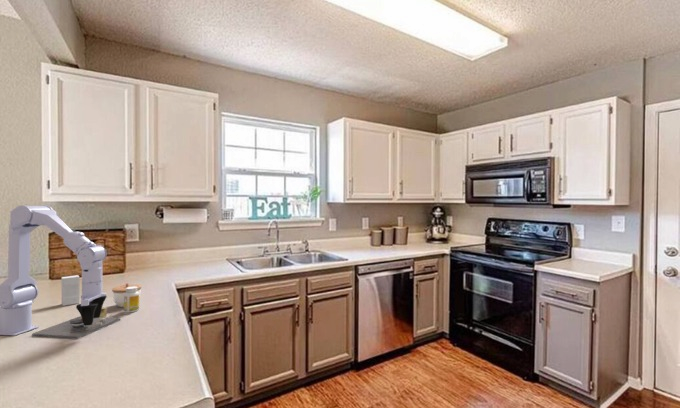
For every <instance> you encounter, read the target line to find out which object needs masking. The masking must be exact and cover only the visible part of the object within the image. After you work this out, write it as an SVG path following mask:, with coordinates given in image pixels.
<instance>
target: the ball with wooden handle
mask: <svg viewBox="0 0 680 408" xmlns="http://www.w3.org/2000/svg"><path fill="white" fill-rule="evenodd" d="M107 308H108V307H106V306H105V307H102V310H101V314H100V317H99V318H101V317H107V314H108V313H107ZM77 317H78V318H77ZM77 317H74V318H72V319H69V320H70V324H79V323H83V320H82V317H80V316H77Z"/></svg>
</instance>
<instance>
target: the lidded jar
mask: <svg viewBox="0 0 680 408" xmlns="http://www.w3.org/2000/svg"><path fill="white" fill-rule="evenodd" d="M134 286H135V287H137V292H139V299H140V298H141V295H142V294H141V293H142V285H141V284H129V283H125V285H119V286H115V287H113V288H112V289H111V291H112V299H113V301H114V303H115V304H116V305H117V306H118V307H120V308H124V294H125V293H127V292H126V288H127V287H134Z"/></svg>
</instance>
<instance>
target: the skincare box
mask: <svg viewBox="0 0 680 408" xmlns="http://www.w3.org/2000/svg"><path fill="white" fill-rule="evenodd" d="M80 278H81V277H80V276H79V274H77V275H69V276H61V278H60V279H61V281H60V283H61V284H60V285H61V306H63V307H64V306H70V305H71V306H72V305H78V304H81V300H80V299H81V295H80V291H81V290H80V283H81V282H80Z"/></svg>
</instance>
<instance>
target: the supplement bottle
mask: <svg viewBox="0 0 680 408" xmlns="http://www.w3.org/2000/svg"><path fill="white" fill-rule="evenodd" d="M126 292H127V293H125V294H124V307H123V312H124V313H126V314H127V313H134V312H138V311H139V310H140V298H139V292H137V287H135V286H134V287H127V288H126Z"/></svg>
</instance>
